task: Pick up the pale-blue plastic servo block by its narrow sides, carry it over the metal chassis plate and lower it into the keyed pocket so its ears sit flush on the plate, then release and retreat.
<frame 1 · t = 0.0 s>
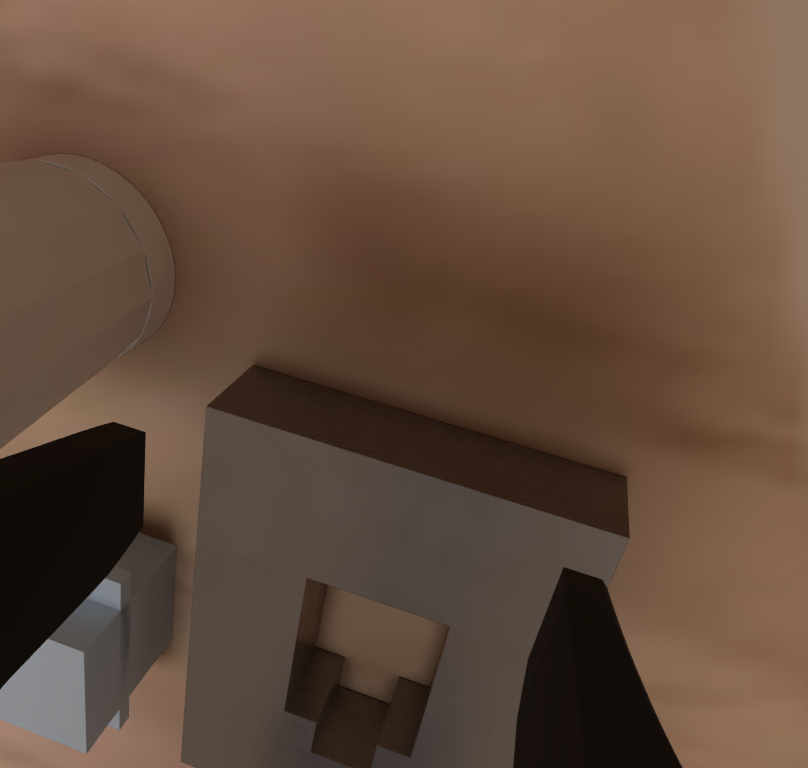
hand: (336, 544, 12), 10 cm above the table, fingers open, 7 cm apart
chassis: (386, 608, 26), on the table
cup: (89, 255, 23), on the table
servo: (135, 579, 28), on the table
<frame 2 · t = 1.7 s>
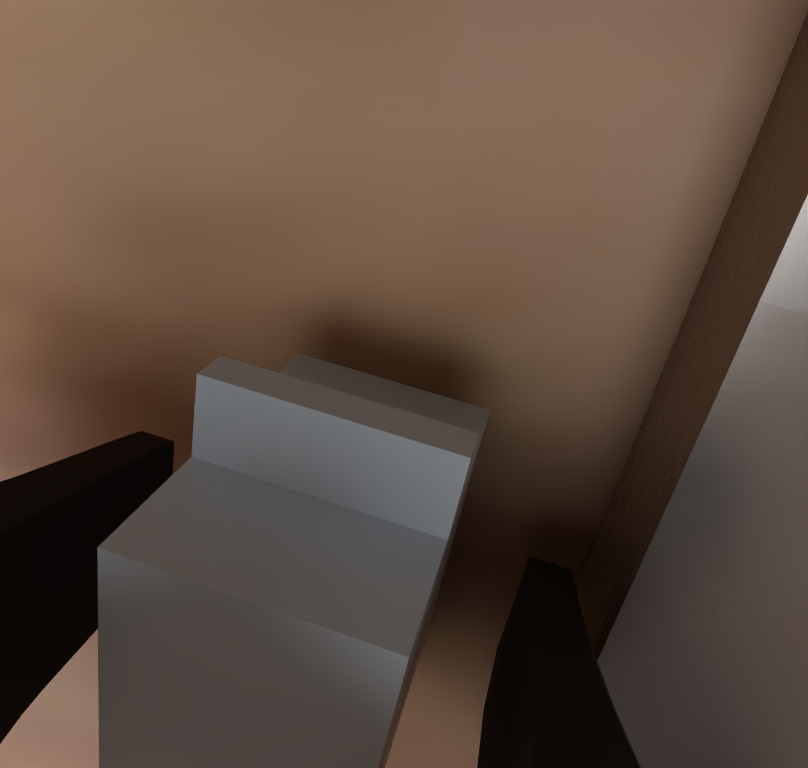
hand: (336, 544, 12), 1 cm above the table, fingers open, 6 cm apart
servo: (368, 498, 13), on the table
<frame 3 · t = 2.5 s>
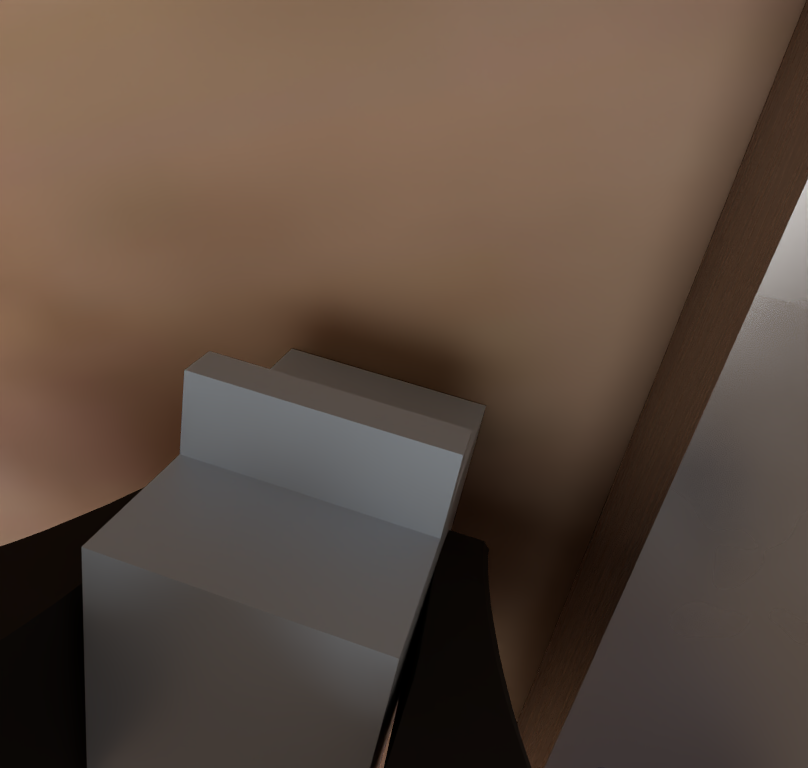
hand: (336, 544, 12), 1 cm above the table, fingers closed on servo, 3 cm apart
servo: (362, 496, 13), on the table, touching gripper
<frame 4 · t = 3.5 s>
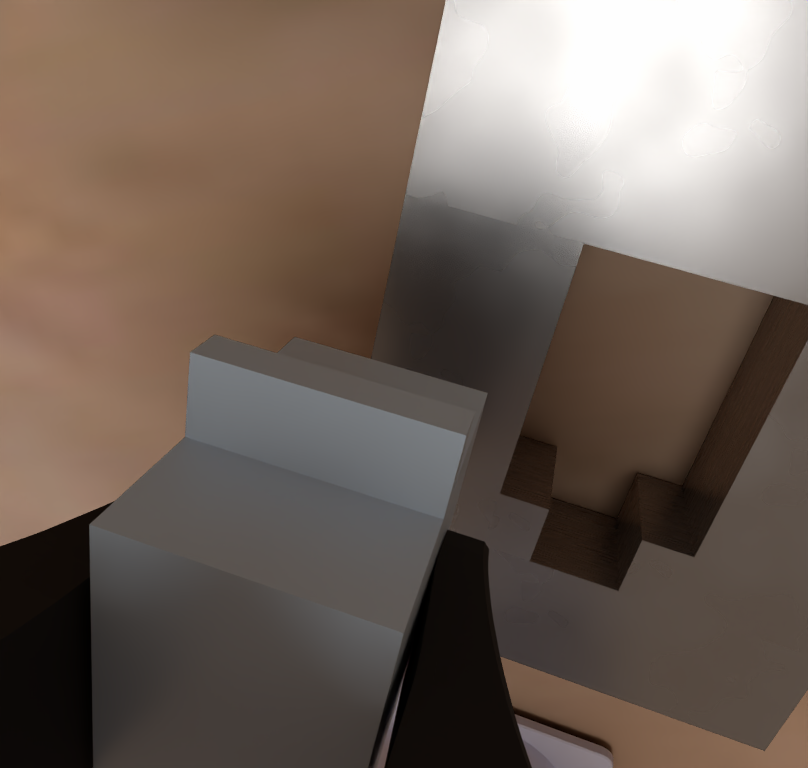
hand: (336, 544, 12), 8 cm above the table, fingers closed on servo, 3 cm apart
chassis: (638, 358, 18), on the table
servo: (364, 484, 13), point 7 cm above the table, touching gripper
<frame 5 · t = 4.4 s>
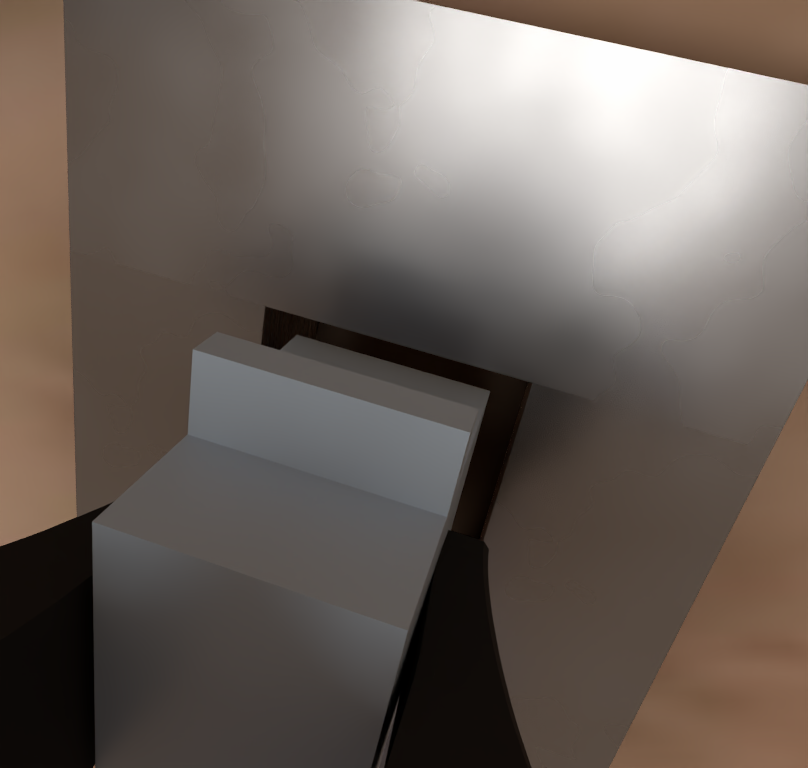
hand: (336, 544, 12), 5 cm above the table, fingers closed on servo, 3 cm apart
chassis: (404, 420, 16), on the table
servo: (366, 483, 13), point 3 cm above the table, touching gripper
when the fingers open (3 cm above the table, at t = 4.9 s): servo drops 2 cm, resting on chassis.
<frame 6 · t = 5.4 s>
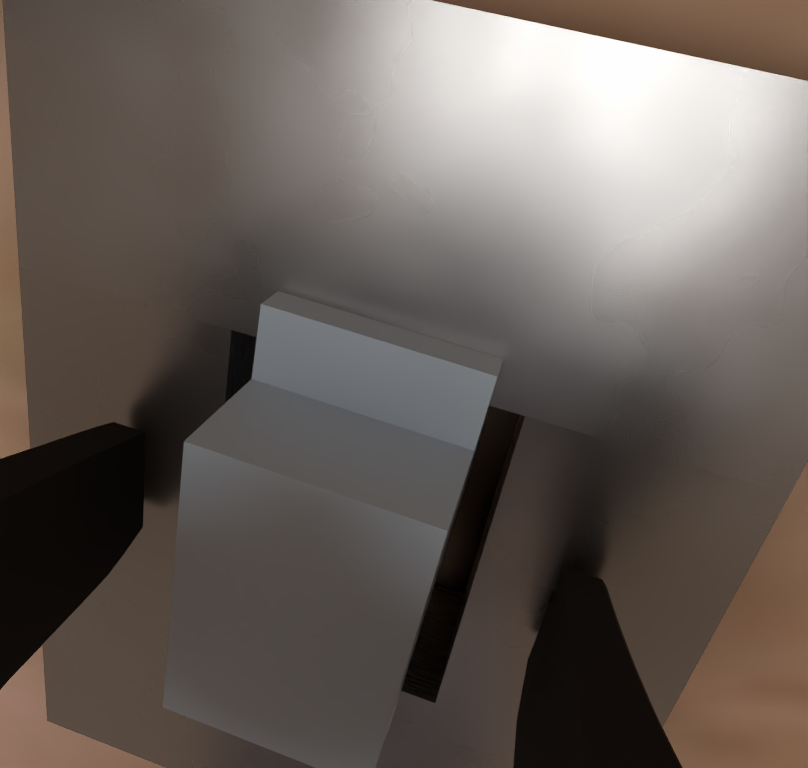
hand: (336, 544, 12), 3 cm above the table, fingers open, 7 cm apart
chassis: (390, 446, 15), on the table
servo: (392, 438, 15), resting on chassis
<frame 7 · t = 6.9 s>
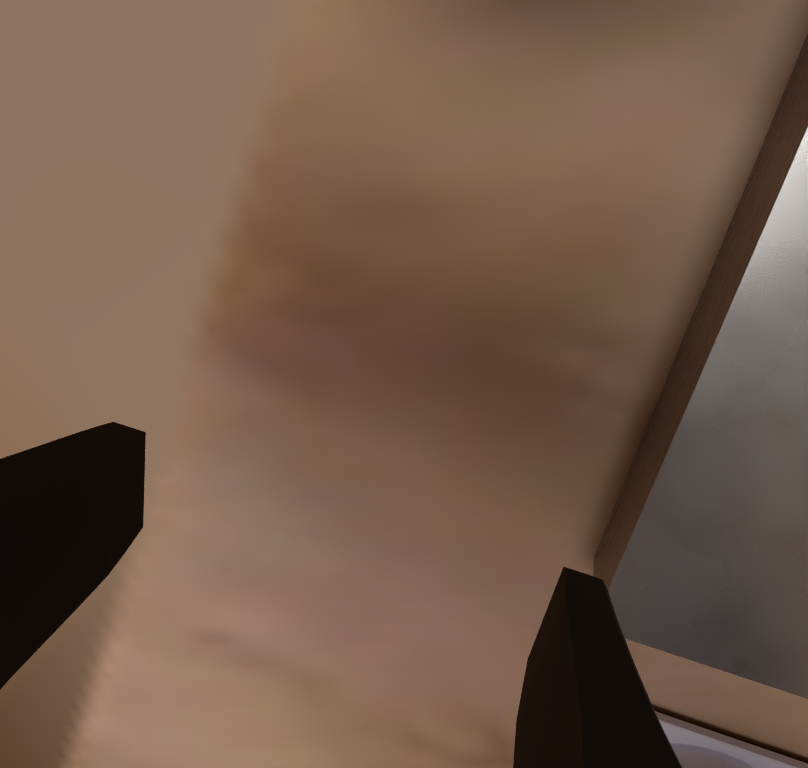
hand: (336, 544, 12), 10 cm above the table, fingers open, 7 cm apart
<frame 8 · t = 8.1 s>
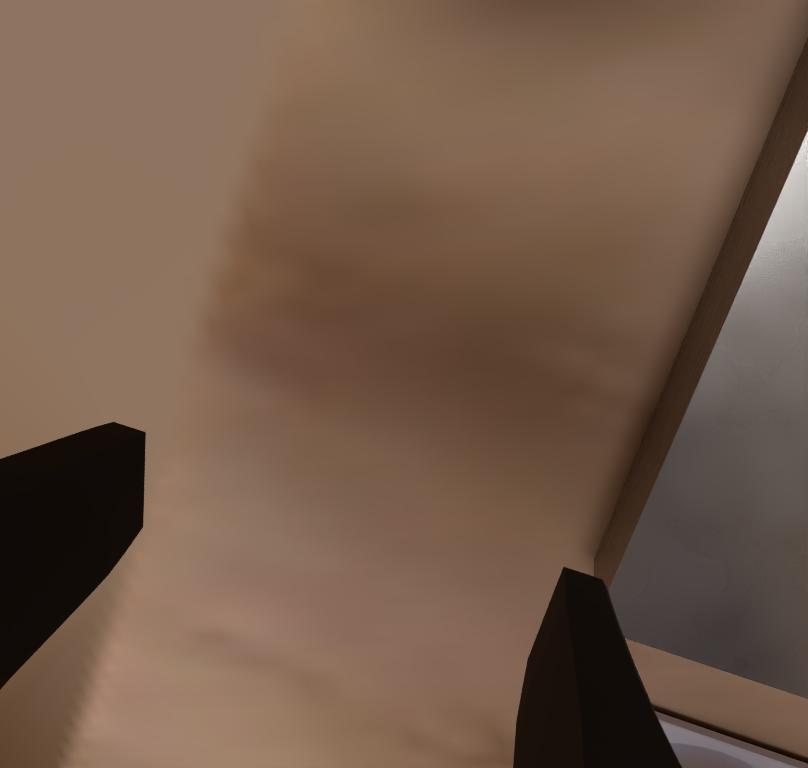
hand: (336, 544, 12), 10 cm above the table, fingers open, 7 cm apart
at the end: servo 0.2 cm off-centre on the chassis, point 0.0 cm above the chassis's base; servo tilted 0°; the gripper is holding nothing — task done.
